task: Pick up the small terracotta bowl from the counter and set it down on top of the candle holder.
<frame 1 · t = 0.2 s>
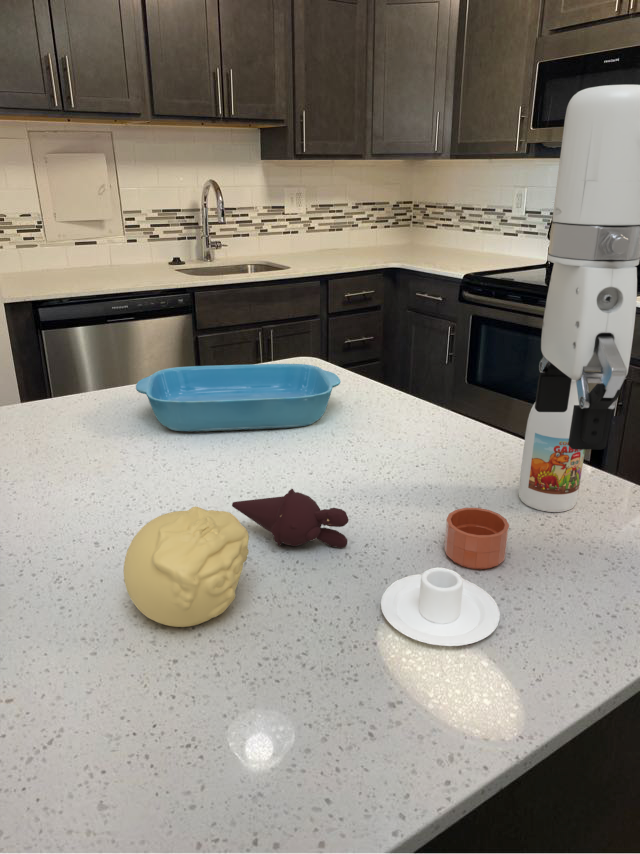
hand: (567, 428, 64), 19 cm above the counter, tool pointing down, fingers open, 9 cm apart
candle holder: (438, 614, 68), on the counter
casserole dish: (241, 416, 123), on the counter
bowl: (474, 555, 79), on the counter
icecream: (289, 542, 81), on the counter
sculpture: (188, 607, 69), on the counter
milk bottle: (546, 501, 92), on the counter
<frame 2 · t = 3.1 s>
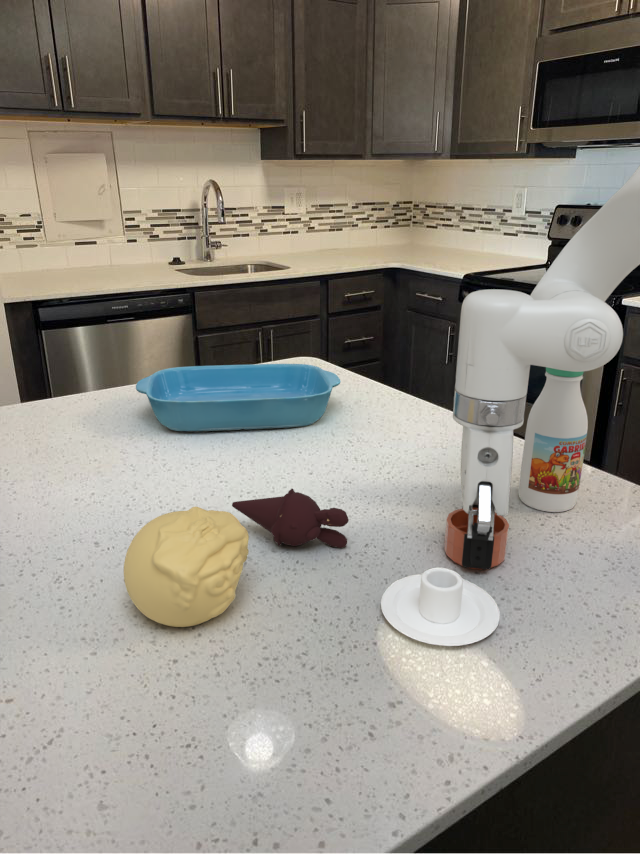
hand: (474, 547, 78), 1 cm above the counter, tool pointing down, fingers closed on bowl, 7 cm apart
bowl: (474, 555, 79), on the counter, touching gripper
everything else where it was.
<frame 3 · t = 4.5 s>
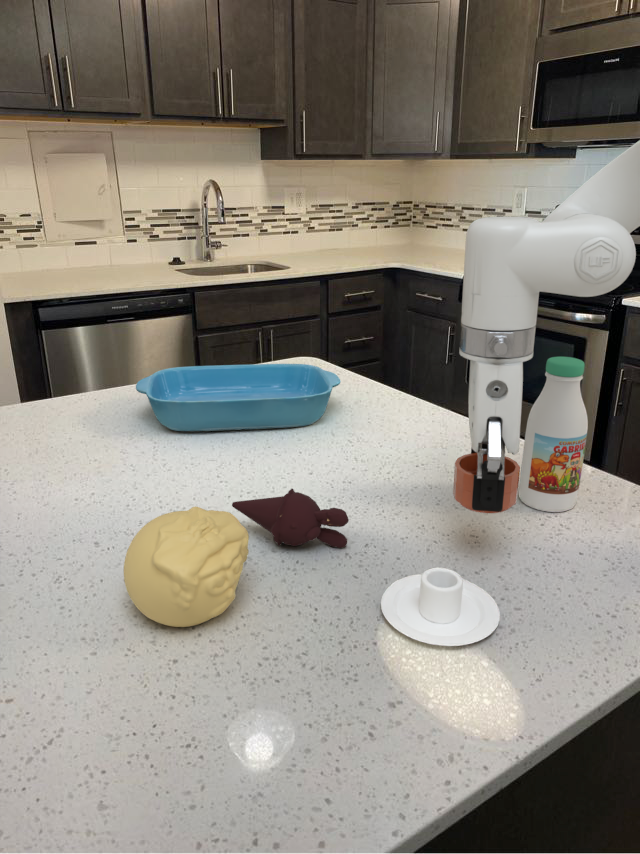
hand: (485, 492, 75), 8 cm above the counter, tool pointing down, fingers closed on bowl, 7 cm apart
bowl: (484, 500, 76), point 7 cm above the counter, touching gripper
everything else where it was.
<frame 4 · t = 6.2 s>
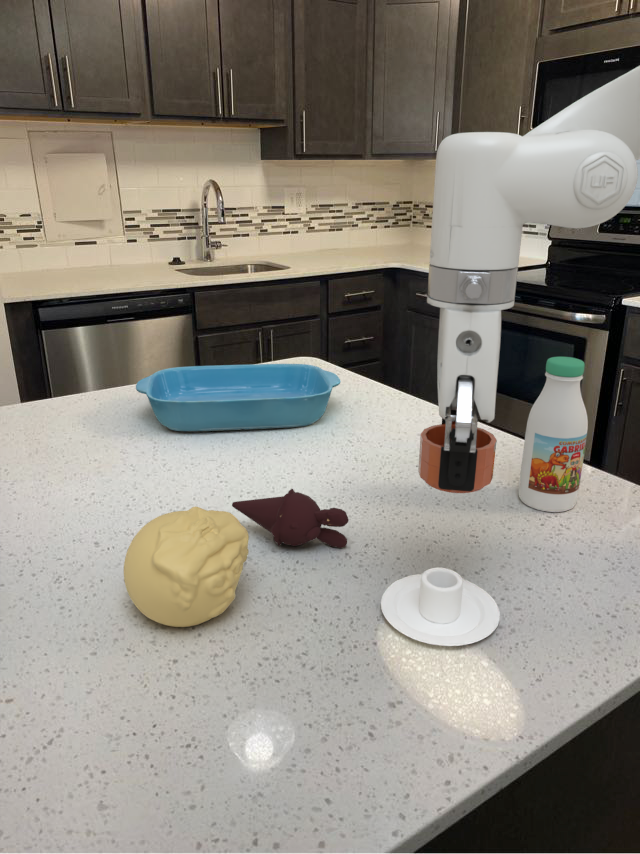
hand: (455, 469, 64), 15 cm above the counter, tool pointing down, fingers closed on bowl, 7 cm apart
bowl: (454, 479, 65), point 14 cm above the counter, touching gripper
everything else where it was.
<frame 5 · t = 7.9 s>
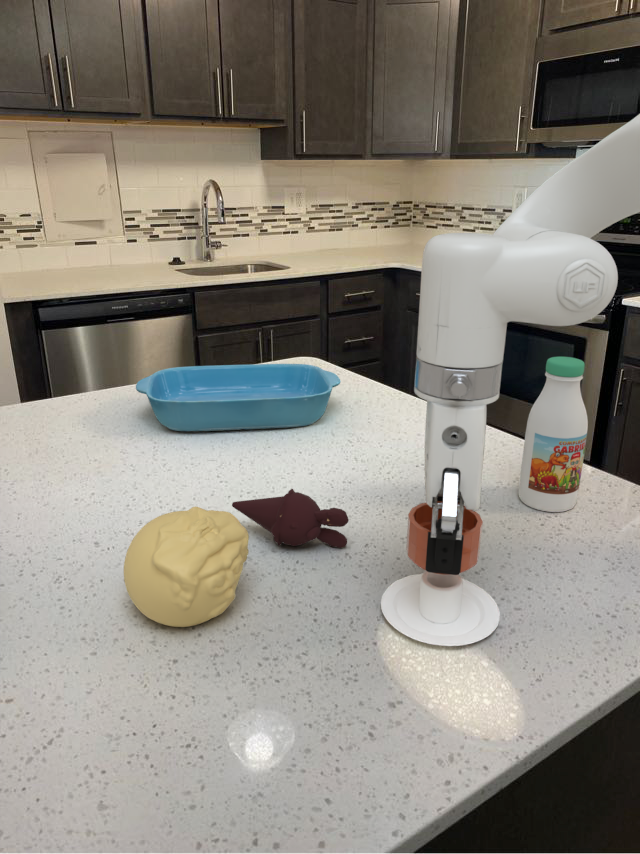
hand: (442, 548, 66), 8 cm above the counter, tool pointing down, fingers closed on bowl, 7 cm apart
bowl: (441, 557, 66), point 7 cm above the counter, touching gripper
everything else where it was.
when the fingers open (5 cm above the counter, at t = 9.2 s): bowl stays where it is, resting on candle holder.
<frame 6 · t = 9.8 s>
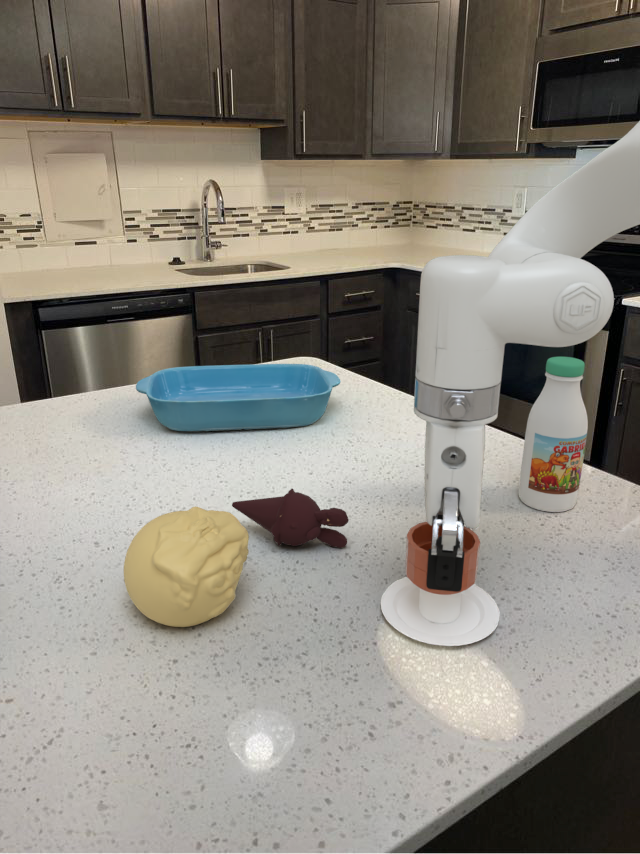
hand: (443, 560, 66), 6 cm above the counter, tool pointing down, fingers open, 9 cm apart
candle holder: (438, 614, 68), on the counter, touching bowl
bowl: (440, 576, 67), point 4 cm above the counter, touching candle holder
everything else where it was.
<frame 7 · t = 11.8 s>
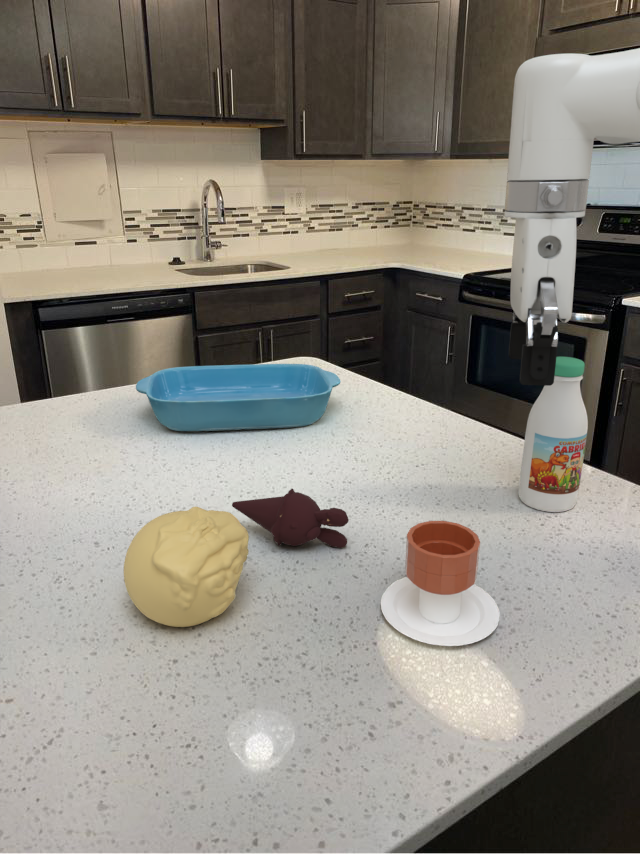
hand: (529, 370, 70), 23 cm above the counter, tool pointing down, fingers open, 9 cm apart
nothing on the counter moved.
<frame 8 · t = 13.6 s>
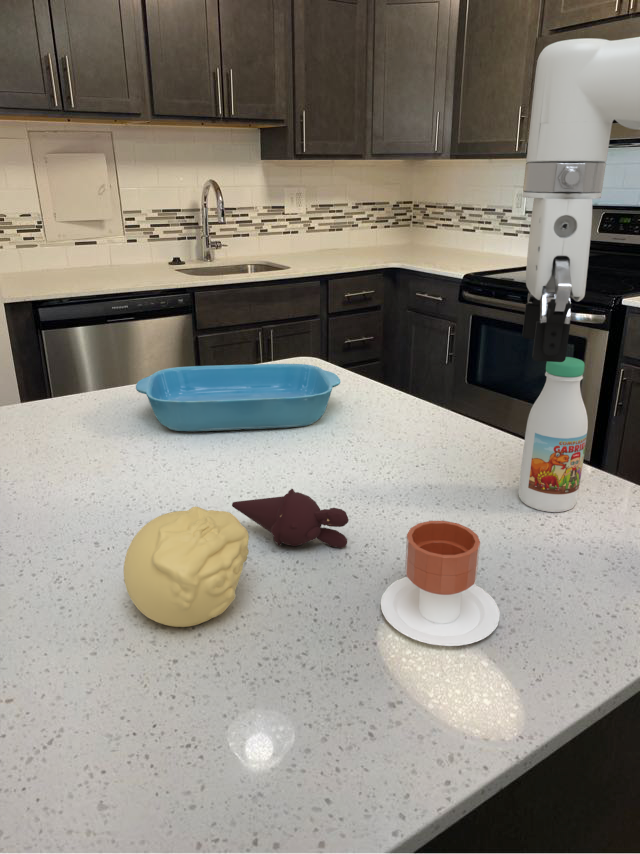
hand: (542, 349, 73), 24 cm above the counter, tool pointing down, fingers open, 9 cm apart
nothing on the counter moved.
at the end: bowl inside the target area on the candle holder (0.2 cm from its centre), point 4.5 cm above the candle holder's base; bowl tilted 0° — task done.
